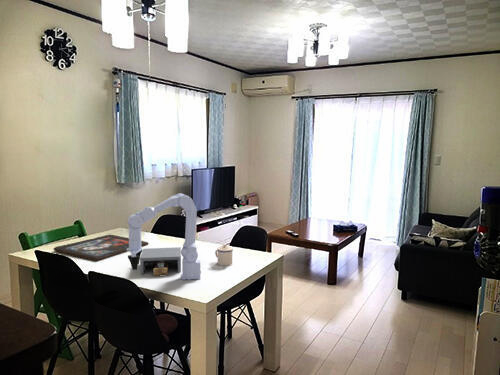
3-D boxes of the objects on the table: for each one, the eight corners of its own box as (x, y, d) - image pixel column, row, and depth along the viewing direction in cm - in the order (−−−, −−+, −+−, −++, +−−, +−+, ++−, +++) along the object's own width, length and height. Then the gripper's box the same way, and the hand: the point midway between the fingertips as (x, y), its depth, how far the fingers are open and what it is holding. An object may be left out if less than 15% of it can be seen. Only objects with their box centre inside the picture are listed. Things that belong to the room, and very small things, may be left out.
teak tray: (168, 265, 208) (168, 256, 207) (167, 275, 192) (167, 265, 192) (155, 266, 207) (155, 256, 206) (153, 276, 191) (153, 266, 190)
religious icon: (51, 252, 231) (51, 247, 230) (108, 237, 270) (108, 233, 270) (95, 263, 212) (95, 258, 212) (149, 246, 252) (149, 241, 252)
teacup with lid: (235, 263, 214) (236, 244, 213) (225, 267, 207) (225, 247, 206) (220, 259, 222) (220, 240, 220) (210, 262, 214) (210, 243, 213)
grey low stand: (180, 261, 216) (180, 247, 215) (180, 272, 198) (180, 256, 197) (143, 263, 212) (143, 248, 211) (140, 274, 194) (140, 258, 193)
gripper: (128, 236, 182) (129, 262, 184) (124, 243, 168) (124, 272, 169) (143, 235, 183) (143, 262, 185) (140, 243, 169) (140, 271, 171)
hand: (135, 267), depth 177 cm, fingers open, 7 cm apart
